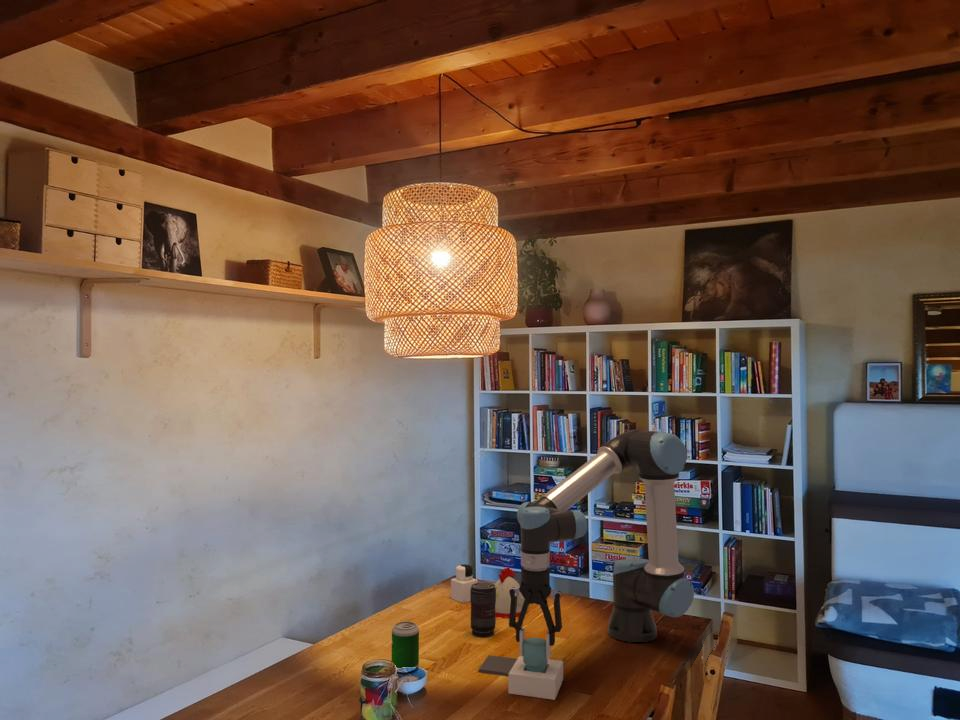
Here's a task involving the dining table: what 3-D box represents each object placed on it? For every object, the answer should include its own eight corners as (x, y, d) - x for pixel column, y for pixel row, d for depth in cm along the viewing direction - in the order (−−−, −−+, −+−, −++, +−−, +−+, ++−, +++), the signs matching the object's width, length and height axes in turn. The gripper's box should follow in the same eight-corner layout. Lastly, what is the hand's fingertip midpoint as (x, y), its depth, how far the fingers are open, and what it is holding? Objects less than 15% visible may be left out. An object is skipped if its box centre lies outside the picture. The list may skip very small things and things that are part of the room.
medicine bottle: (465, 594, 260) (465, 562, 260) (478, 599, 254) (478, 566, 255) (450, 598, 255) (450, 565, 255) (462, 603, 250) (462, 569, 250)
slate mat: (522, 662, 199) (522, 659, 199) (514, 676, 190) (514, 673, 190) (488, 657, 202) (488, 655, 202) (478, 672, 193) (478, 669, 193)
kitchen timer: (478, 612, 241) (478, 568, 241) (501, 602, 252) (502, 560, 252) (512, 621, 232) (512, 575, 232) (534, 610, 243) (534, 566, 243)
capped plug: (549, 680, 186) (549, 639, 186) (545, 691, 180) (544, 648, 180) (526, 677, 188) (526, 636, 188) (520, 688, 182) (520, 645, 182)
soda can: (424, 668, 195) (424, 624, 195) (404, 677, 189) (404, 632, 189) (406, 661, 200) (406, 618, 200) (385, 669, 194) (386, 625, 194)
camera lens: (496, 629, 225) (497, 581, 225) (494, 638, 217) (495, 589, 217) (471, 628, 226) (471, 581, 226) (468, 637, 218) (469, 588, 218)
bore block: (563, 679, 188) (563, 661, 188) (554, 699, 176) (554, 679, 176) (519, 674, 191) (519, 655, 191) (508, 693, 180) (508, 673, 180)
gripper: (496, 568, 184) (495, 657, 183) (569, 574, 178) (569, 666, 178) (503, 560, 191) (503, 646, 190) (574, 566, 185) (574, 654, 185)
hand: (535, 655), depth 184 cm, fingers closed on capped plug, 6 cm apart
